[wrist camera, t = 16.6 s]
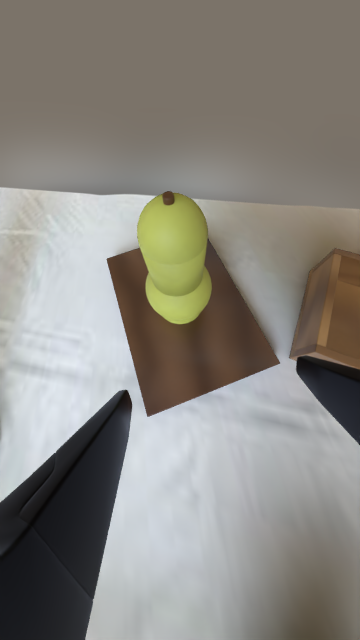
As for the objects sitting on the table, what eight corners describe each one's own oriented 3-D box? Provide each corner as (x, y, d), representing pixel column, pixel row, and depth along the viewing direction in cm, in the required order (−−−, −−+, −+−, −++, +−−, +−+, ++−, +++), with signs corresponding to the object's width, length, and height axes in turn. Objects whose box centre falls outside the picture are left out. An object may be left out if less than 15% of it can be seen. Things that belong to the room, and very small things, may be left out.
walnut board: (151, 413, 17) (147, 417, 16) (112, 267, 24) (106, 258, 22) (272, 365, 18) (280, 363, 17) (201, 237, 25) (202, 227, 23)
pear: (187, 340, 18) (185, 268, 7) (142, 310, 19) (77, 211, 8) (218, 296, 20) (257, 178, 8) (173, 272, 21) (156, 144, 10)
